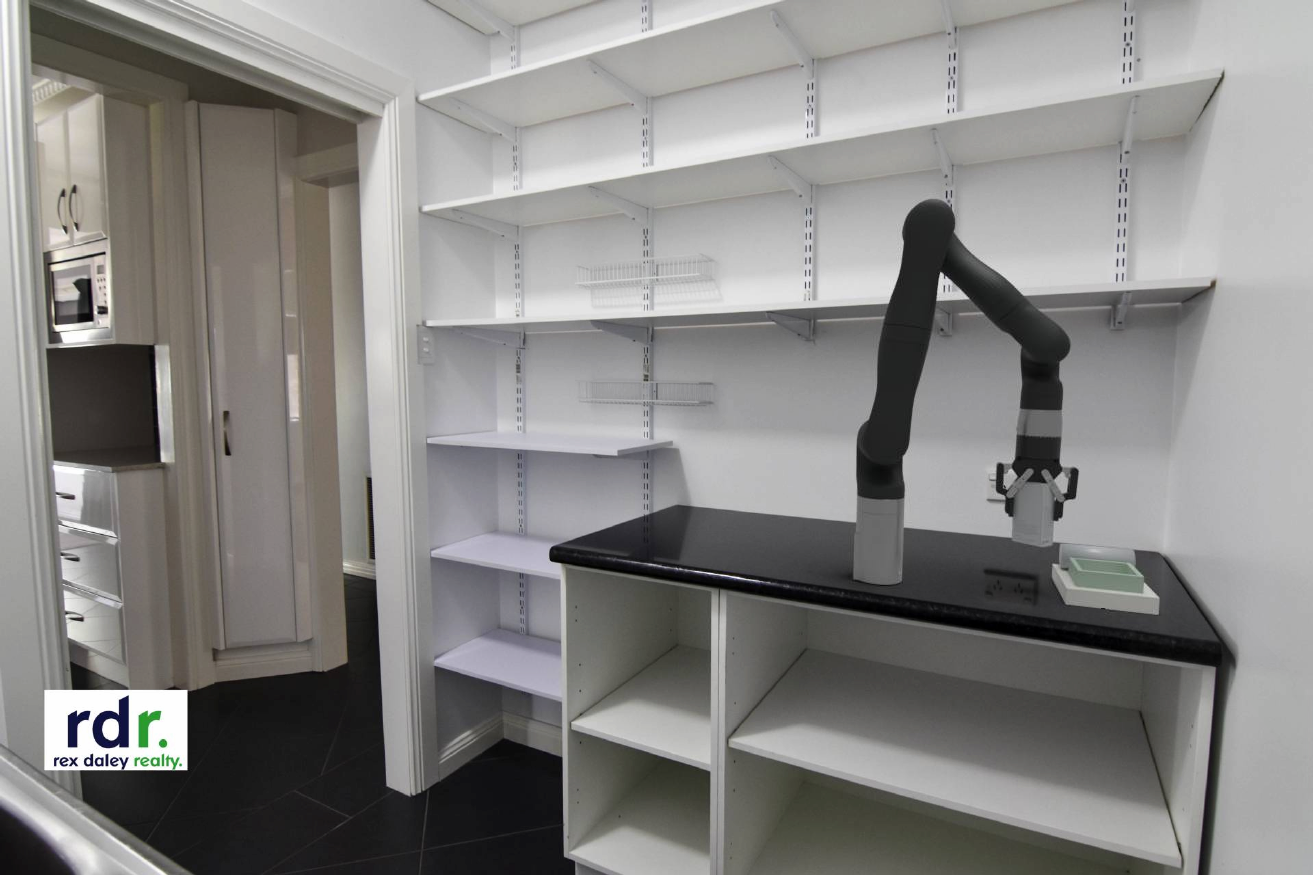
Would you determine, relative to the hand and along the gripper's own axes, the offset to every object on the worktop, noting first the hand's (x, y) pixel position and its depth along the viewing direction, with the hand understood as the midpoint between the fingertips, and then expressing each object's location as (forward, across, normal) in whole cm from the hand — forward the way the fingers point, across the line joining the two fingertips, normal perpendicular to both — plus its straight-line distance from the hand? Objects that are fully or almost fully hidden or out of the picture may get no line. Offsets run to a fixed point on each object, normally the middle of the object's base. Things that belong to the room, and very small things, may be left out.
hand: (1032, 518), depth 131 cm
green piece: (+11, +12, 0) cm, 17 cm away
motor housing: (+14, +12, +2) cm, 19 cm away
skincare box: (+5, 0, 0) cm, 5 cm away
